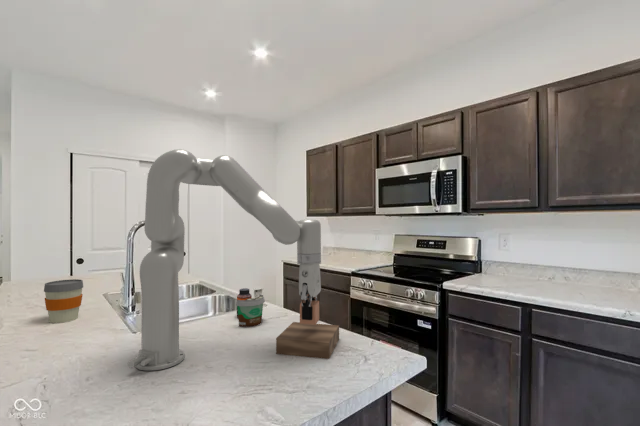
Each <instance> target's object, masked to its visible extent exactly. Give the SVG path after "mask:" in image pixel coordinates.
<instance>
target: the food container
mask: <svg viewBox="0 0 640 426" xmlns="http://www.w3.org/2000/svg"><path fill="white" fill-rule="evenodd" d="M265 302H266V299H265V297H264V295H263V294H259V295H258V296H256V297H252V298H248V299H246V300H237V299H236V302H235V306H236V309H237V308H238V317H237V319H238V320H237V321H238V327H241V328H252V327H257V326H261V324H262V322H263V321H262V320H263V310H264V303H265Z"/></svg>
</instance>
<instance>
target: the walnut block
mask: <svg viewBox="0 0 640 426" xmlns="http://www.w3.org/2000/svg"><path fill="white" fill-rule="evenodd" d="M339 340H340V325H339V324H323V323H316V325H315V324H300V321H299V322H298V321H292V323H290V324H289V325H288V327H286V329H284V330H283V331H282V332H281V333H280V334H279V335H278V336H277V337H276V338H275V354H276V355H285V356H295V357H304V358H315V359H323V360H325V359H326V360H329V359H330V358H331V356H332V354H333V352H334V350H335V349H336V346H337V344H338V343H339Z"/></svg>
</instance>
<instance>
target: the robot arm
mask: <svg viewBox="0 0 640 426" xmlns="http://www.w3.org/2000/svg"><path fill="white" fill-rule="evenodd" d="M181 183H182V184H188V185H199V186H211V187H221V188H222V189H223V190H224V191H225V192H226V193H227V194H228V195H229V196H230V197H231V198H232V199H233V200H234V201H235V203H236V204H238V205H239V206H240V208H242V209H243V210H244V212H246V213H248V214H250V215H251V216H253V217H254V218H255V219H256V220H257V221H258V222H259V223H261V225H263V227H265V229H267V230H268V231H269V233H271V235H272V237H273V239H274V240H275V241H276V242H278V243H280V244H283V245H284V246H285V245H288V246H289V245H293V244H295V243H296V253H297V254H296V258H297V259H296V261H297V262H296V263H297V265H299V268H298V269H299V270H298V271H299V272H298V273H299V274H298V294H299V295H298V296H300V299H301V302H302V319H303V320H312V306H311V302H312V300H313V301H318V300H317V299H318V297H317V296H318V295H319V294H320V293H321V291H322V284H321V283H322V281H321V279H322V278H321V267H320V265H321V264H322V240H321V239H322V231H321V230H322V229H321V228H322V227H321V225H322V224H321V222H320V220H318V219H301V220H295V219H294V218H293V217H292V216H291V215H290V213H288V212H287V210H285V209H284V207H282V206H281V204H279V203H278V202H277V201H276V200H275V199H274V198H273V197H272V196H271V195H270V194H269V192H267V190H265V189H264V188H263V187H262V186H261V185H260V184H259V183H258V182H257V181H256V180H255V179H254V178H253V177H252V176H251V175H250V174H249V173H248V172H247V171H246V170H245V168H244V167H242V165H241V164H240V163H239V162H238V160H236V159H234V158H233V157H231V156H230V155H227V154H225V155H219V156H217V157H215V158H214V159H206V158H201V157H200V158H199V157H196V156H195V155H194V154H193V153H192V152H190V151H188V150H186V149H181V148H179V149H173V150H172V149H171V150H169V151H167V152H165V153H163V154H161V155H160V156H158V157H157V158H156V159H155V160H154V161H153V163H152V164H151V166H150V168H149V171H148V174H147V179H146V191H145V192H146V193H145V195H146V197H145V198H146V199H145V216H144V225H143V226H144V233H145V236H146V238H147V239H149V240H150V241H151V242H150V247H151V248H150V252H147V254H145V256H144V257H143V258H142V260H141V262H140V265H139V281H140V292H141V295H140V297H141V338H140V339H141V349H140V350H138V355H137V356H136V357H135V358H132V359H131V360H129V361H128V363H127V366H128V367H129V368H130V369H133V368H136V369H138V370H141V371H145V372H147V371H148V372H149V371H150V372H151V371H160V370H165V369H168V368H172V367H174V366H177V365H178V364H180V363H182V362H183V361H184V360H185V351H184V350H182V349H180V290H179V288H180V287H179V286H180V285H179V272H180V271H181V270H182V267H183V265H184V259H185V229H186V228H185V221H184V220H183V218H182V217H181V215H180V214H179V213H180V211H179V210H180V209H179V206H180V205H179V204H180V203H179V202H180V185H181Z"/></svg>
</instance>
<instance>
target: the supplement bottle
mask: <svg viewBox="0 0 640 426" xmlns="http://www.w3.org/2000/svg"><path fill="white" fill-rule="evenodd" d="M238 293H239V294H237V295H236V301H237V300H246V299H248V298H253V296H252V293H250V288H246V287H245V288H239V291H238ZM236 318H238V308H237V307H236Z"/></svg>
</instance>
